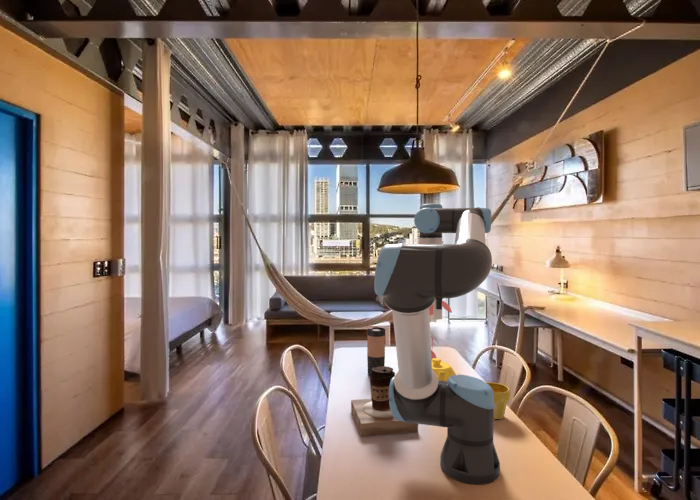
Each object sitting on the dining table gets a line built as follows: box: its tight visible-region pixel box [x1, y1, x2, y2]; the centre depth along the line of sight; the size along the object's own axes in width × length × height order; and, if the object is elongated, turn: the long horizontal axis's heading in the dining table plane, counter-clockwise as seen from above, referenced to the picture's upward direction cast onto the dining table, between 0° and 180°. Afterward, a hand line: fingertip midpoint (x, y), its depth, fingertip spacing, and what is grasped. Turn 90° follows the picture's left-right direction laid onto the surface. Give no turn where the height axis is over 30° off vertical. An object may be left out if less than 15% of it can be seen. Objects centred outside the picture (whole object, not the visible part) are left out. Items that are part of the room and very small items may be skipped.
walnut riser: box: [350, 398, 419, 438], centre depth 136 cm, size 18×18×4 cm
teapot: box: [432, 357, 457, 381], centre depth 158 cm, size 25×18×14 cm
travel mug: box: [366, 326, 386, 377], centre depth 180 cm, size 8×8×20 cm
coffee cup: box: [369, 365, 396, 411], centre depth 136 cm, size 9×8×13 cm
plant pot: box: [486, 381, 511, 420], centre depth 140 cm, size 10×10×10 cm
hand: (429, 315), depth 137 cm, fingers open, 13 cm apart
